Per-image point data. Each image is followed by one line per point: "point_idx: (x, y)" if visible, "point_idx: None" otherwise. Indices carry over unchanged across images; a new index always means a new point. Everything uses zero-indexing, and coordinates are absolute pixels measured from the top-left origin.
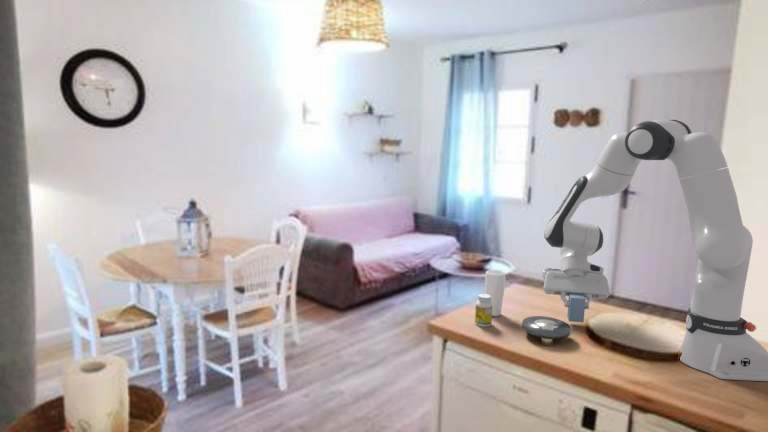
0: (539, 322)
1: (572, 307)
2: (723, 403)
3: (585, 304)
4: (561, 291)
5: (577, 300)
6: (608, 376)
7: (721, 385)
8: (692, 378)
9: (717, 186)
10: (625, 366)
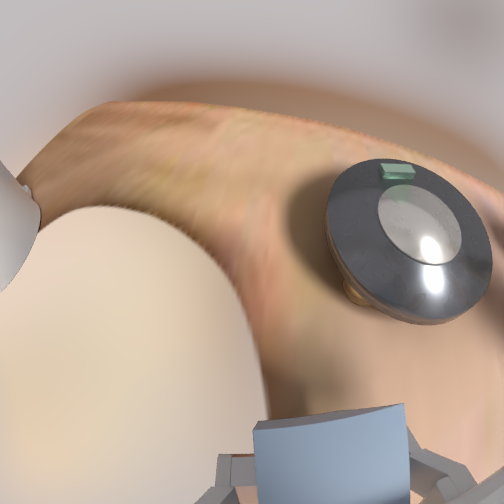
0: (444, 223)
1: (350, 412)
2: (83, 129)
3: (246, 465)
4: (479, 483)
5: (332, 419)
6: (227, 119)
7: (45, 171)
8: (69, 171)
9: None
10: (175, 159)
